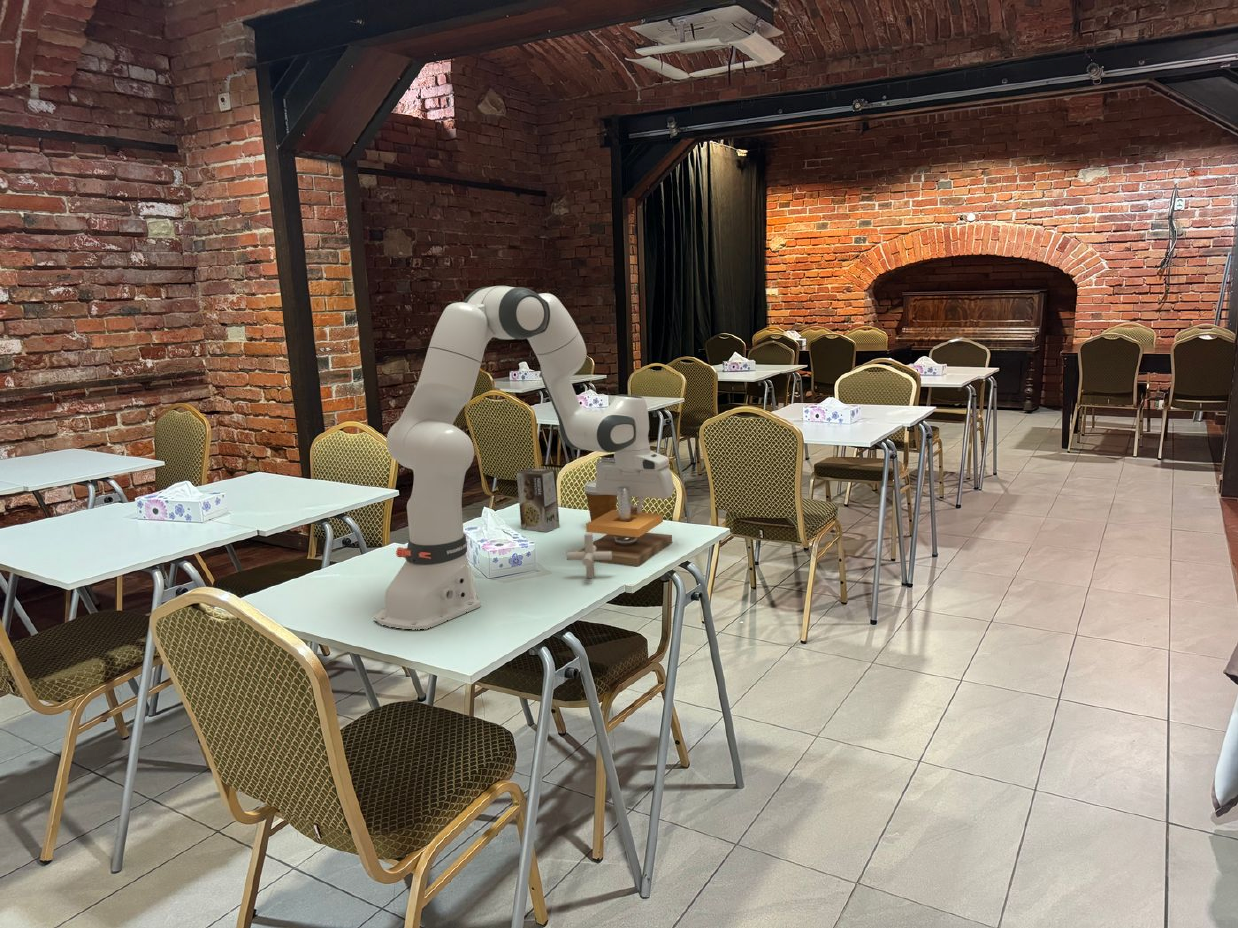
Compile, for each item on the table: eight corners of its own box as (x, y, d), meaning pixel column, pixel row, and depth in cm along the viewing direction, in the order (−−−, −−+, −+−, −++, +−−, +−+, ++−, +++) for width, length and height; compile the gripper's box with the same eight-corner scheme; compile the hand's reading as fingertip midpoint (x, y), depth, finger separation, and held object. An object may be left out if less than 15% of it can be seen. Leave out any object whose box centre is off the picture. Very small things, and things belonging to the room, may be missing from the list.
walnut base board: (637, 566, 197) (637, 558, 197) (578, 559, 204) (577, 551, 204) (672, 542, 215) (672, 534, 214) (616, 536, 222) (615, 529, 221)
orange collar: (638, 537, 199) (638, 529, 199) (586, 532, 205) (586, 524, 205) (662, 521, 211) (662, 514, 211) (613, 517, 218) (612, 509, 217)
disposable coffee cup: (587, 521, 237) (585, 480, 235) (621, 520, 237) (619, 478, 234) (584, 531, 228) (582, 488, 226) (620, 530, 228) (618, 486, 225)
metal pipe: (631, 547, 205) (628, 491, 203) (610, 545, 208) (607, 489, 205) (641, 540, 210) (638, 485, 208) (620, 538, 213) (618, 484, 210)
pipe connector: (614, 569, 196) (612, 527, 194) (610, 584, 186) (608, 540, 184) (572, 569, 197) (569, 528, 195) (565, 584, 187) (562, 541, 185)
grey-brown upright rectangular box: (560, 526, 234) (557, 469, 231) (546, 532, 229) (542, 474, 225) (534, 523, 239) (530, 467, 235) (519, 529, 233) (515, 471, 230)
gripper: (589, 459, 212) (592, 513, 215) (664, 463, 203) (666, 519, 205) (601, 454, 217) (604, 506, 220) (675, 458, 208) (677, 513, 211)
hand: (635, 513), depth 213 cm, fingers closed, pressing on orange collar
